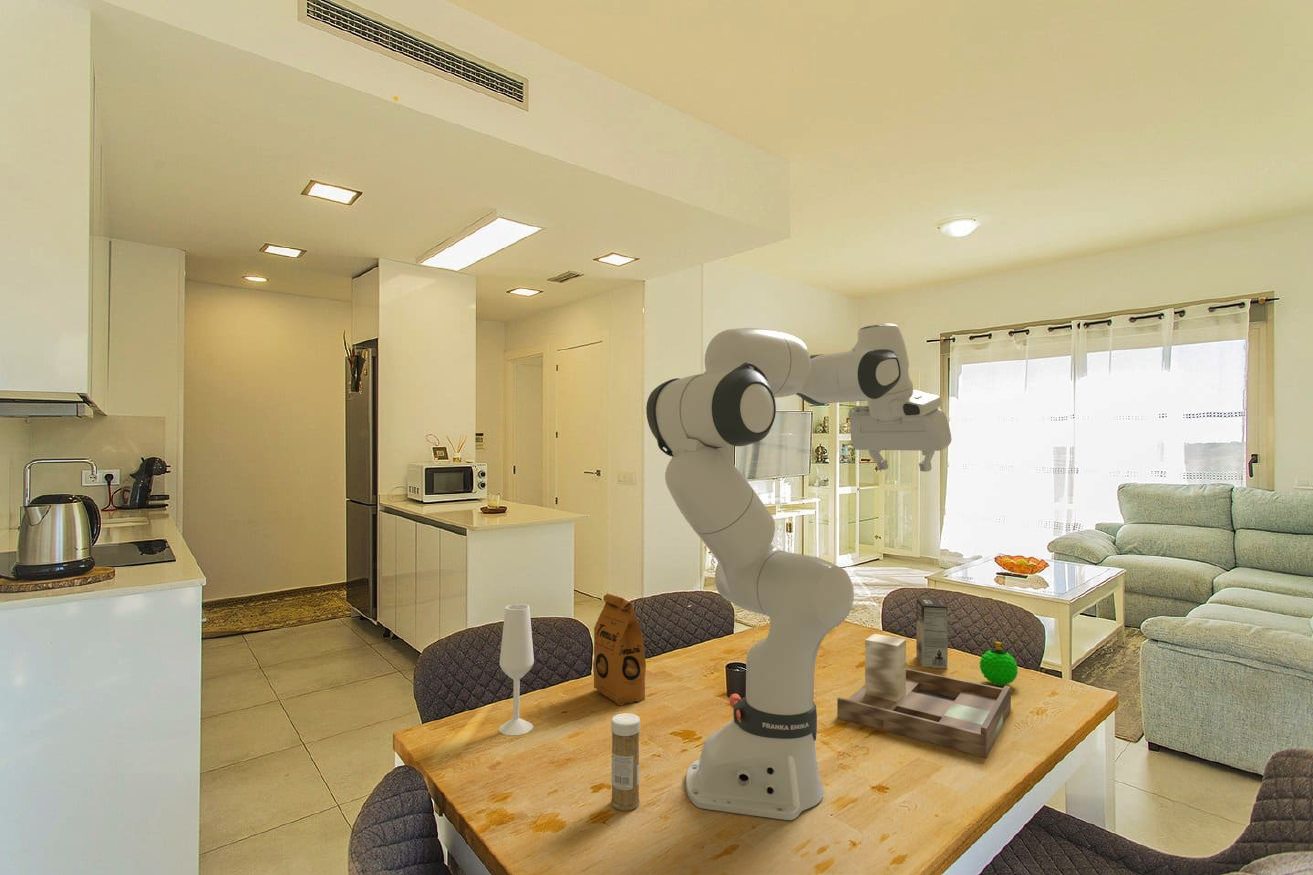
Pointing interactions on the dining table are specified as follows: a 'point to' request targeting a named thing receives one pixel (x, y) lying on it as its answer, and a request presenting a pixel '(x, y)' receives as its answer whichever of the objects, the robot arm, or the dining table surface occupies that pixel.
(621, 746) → the spice jar
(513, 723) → the champagne flute
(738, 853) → the dining table surface
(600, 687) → the coffee package
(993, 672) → the ornament
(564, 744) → the dining table surface
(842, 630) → the dining table surface
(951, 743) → the tray
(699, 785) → the robot arm
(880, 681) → the birch block
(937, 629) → the coffee box
